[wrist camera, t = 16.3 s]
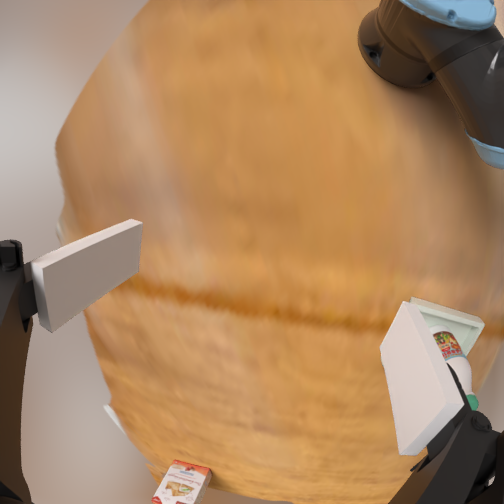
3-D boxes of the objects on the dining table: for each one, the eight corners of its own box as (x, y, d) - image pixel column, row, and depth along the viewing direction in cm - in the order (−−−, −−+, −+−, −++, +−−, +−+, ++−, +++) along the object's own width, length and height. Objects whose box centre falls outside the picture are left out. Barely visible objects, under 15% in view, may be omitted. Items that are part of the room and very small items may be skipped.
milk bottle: (454, 342, 46) (489, 410, 27) (422, 361, 49) (447, 434, 30) (444, 316, 45) (485, 384, 26) (411, 336, 48) (439, 411, 29)
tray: (411, 296, 46) (416, 304, 43) (479, 317, 44) (485, 324, 41) (380, 356, 51) (382, 365, 48) (447, 370, 49) (450, 379, 46)
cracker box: (209, 467, 78) (189, 514, 58) (212, 474, 79) (194, 519, 60) (173, 458, 81) (150, 501, 62) (177, 466, 83) (156, 507, 63)
